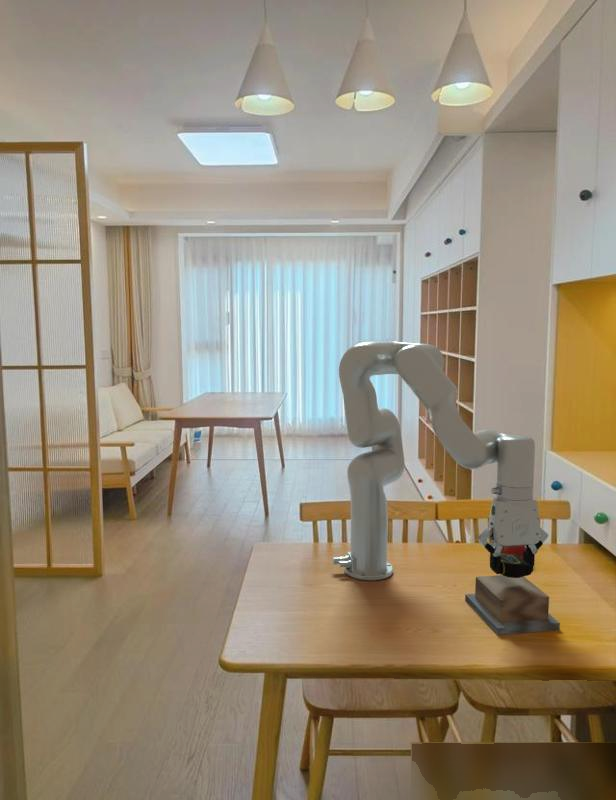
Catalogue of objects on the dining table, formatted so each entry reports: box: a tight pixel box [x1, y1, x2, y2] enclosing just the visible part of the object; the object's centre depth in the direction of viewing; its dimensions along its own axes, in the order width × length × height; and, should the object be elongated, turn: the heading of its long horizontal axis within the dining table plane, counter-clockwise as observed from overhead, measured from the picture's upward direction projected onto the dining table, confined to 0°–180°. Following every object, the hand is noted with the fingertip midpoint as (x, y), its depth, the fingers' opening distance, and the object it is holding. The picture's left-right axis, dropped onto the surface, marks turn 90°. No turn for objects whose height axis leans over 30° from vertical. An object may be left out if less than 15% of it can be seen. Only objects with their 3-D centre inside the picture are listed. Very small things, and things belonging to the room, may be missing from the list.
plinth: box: [464, 574, 561, 636], centre depth 130 cm, size 14×16×6 cm
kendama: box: [489, 538, 526, 559], centre depth 167 cm, size 8×6×18 cm
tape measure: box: [499, 554, 533, 578], centre depth 130 cm, size 7×7×4 cm
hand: (511, 570), depth 129 cm, fingers closed on tape measure, 7 cm apart
